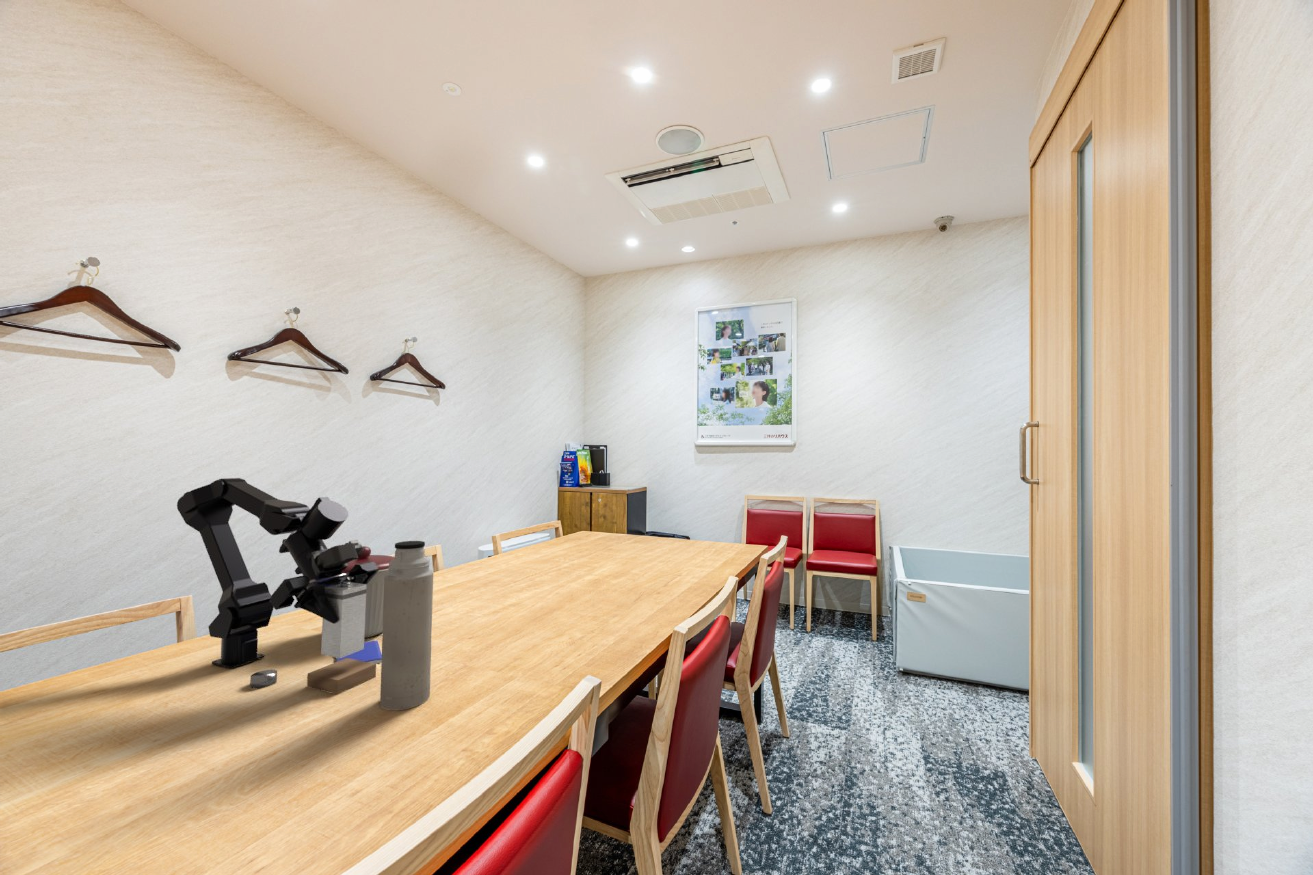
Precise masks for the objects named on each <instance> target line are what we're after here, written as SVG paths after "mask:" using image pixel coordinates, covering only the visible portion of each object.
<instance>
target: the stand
mask: <svg viewBox="0 0 1313 875" xmlns="http://www.w3.org/2000/svg"><path fill="white" fill-rule="evenodd" d="M376 677H377V664H374V663H369V662H365V661H360V660H355V659H350V658H345V659H343V660H340V661H338V662H337V661H335V662H333V663H330V664H328V665H326V666H323V667H320V668H318V669H315V670H313V671H310V672H308V673H307V680H306V683H307V684H306V687H307V688H310V689H313V690H319V691H323V692H327V693H330V694H335V695H339V694H341V693H344V692H346V691H348V690H350V689H352V688H354V687H357V686H359V685H361V684H363V683H365V682H367V681H370V680H372V679H374V678H376Z"/></svg>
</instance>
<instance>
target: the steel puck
mask: <svg viewBox="0 0 1313 875" xmlns="http://www.w3.org/2000/svg"><path fill="white" fill-rule="evenodd" d="M249 679H250V682H249V683H250V684H249V687H250V689H254V688H255V689H256V688H257V689H262V688H263V689H264V688H266V687H270V686H273V685H276V684H277V682H278V670H277V669H264V670H260V671H257V672H254V673H252V674H251V675H250V678H249Z"/></svg>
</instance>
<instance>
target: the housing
mask: <svg viewBox="0 0 1313 875" xmlns="http://www.w3.org/2000/svg"><path fill="white" fill-rule="evenodd" d="M366 593H367V589H366V584H359V583H352V582H343V583H341V584H337V585H333V586H329V587H325V595H326V597H327V599H328V601H329V602H330V604H331V606H332V608H333V609H334V611H335V613H336V615H337V618H338V621H337V622H336V623H334V624H333V623H331V622H329V621H327V620H325V619H323V618H322V625H321V626H322V627H321V646H320V647H321V650H320V651H321V652H320V654H321V655H323V656H328V657H332V658H342V657H345V656H347V655H350V654H352V653H355V652H357V651H360V650H363V649H364V642H365V638H364V633H365V608H366Z"/></svg>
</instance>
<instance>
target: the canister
mask: <svg viewBox="0 0 1313 875" xmlns="http://www.w3.org/2000/svg"><path fill="white" fill-rule="evenodd" d="M362 548H363V553H362V554H361V555H359V556H358V559H356V560H352V561H350V562H348V563H347V565H348V567H347V568H346V569H345V570H342V574H344V573H349V572H350V570H351V569H352V568H353V567H354V566H355V564H360V563H365V562H369V561H370V562H374V563H375V564H376V566H377V567H378V569H379V571H378V572H377V573H376V574H375V575H374V576H373V578H372V579H371V580H370V581H369V582H368V583H367V585H366V589H367V593H366V608H365V633H364V639H365V638H371V637H374V636H377V635H380V634H382V631H383V600H384V576H385V575H386V574H387V573H389V570H388V568H389V562H390V561H392V560H393V559H395V556H392V555H384V554H372V549H371V547H369V546H363V545H362Z"/></svg>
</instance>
